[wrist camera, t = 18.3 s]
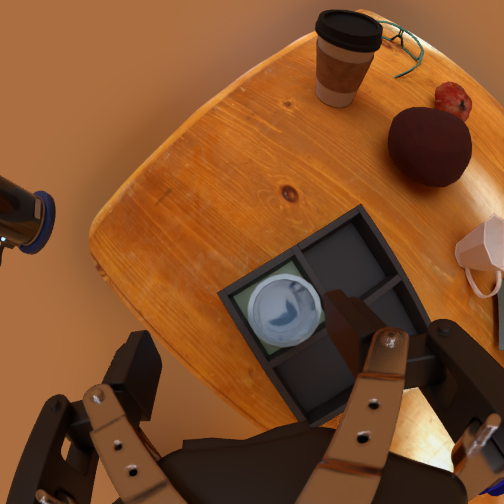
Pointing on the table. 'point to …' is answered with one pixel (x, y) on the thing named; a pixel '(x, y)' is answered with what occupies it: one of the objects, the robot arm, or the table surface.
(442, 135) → the dark brown oval ball
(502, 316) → the teapot
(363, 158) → the table surface
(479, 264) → the cup
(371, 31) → the coffee cup
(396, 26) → the sunglasses
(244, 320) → the black divided tray
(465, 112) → the pomegranate
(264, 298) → the blue cup
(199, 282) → the table surface
